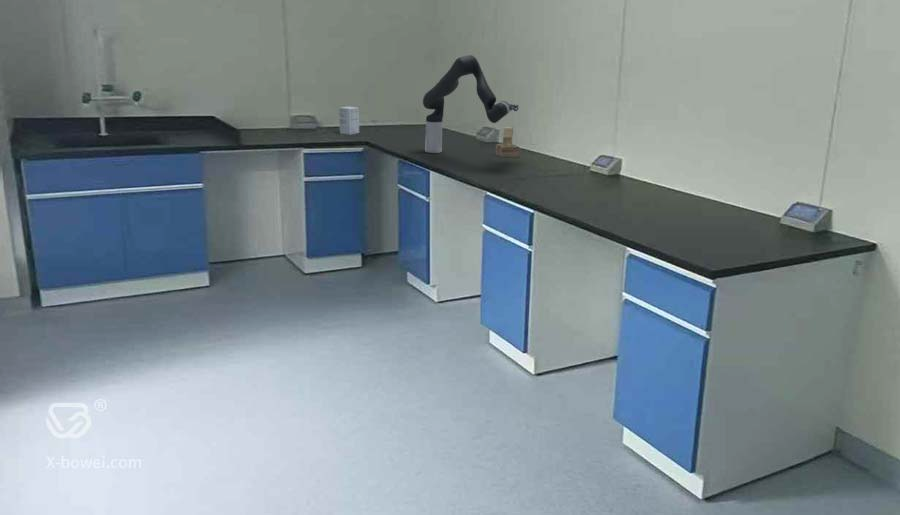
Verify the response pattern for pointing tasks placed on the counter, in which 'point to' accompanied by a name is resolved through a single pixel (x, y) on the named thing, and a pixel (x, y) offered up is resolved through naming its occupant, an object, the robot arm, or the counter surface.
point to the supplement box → (349, 120)
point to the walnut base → (507, 150)
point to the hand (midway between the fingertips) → (506, 105)
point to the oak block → (507, 136)
